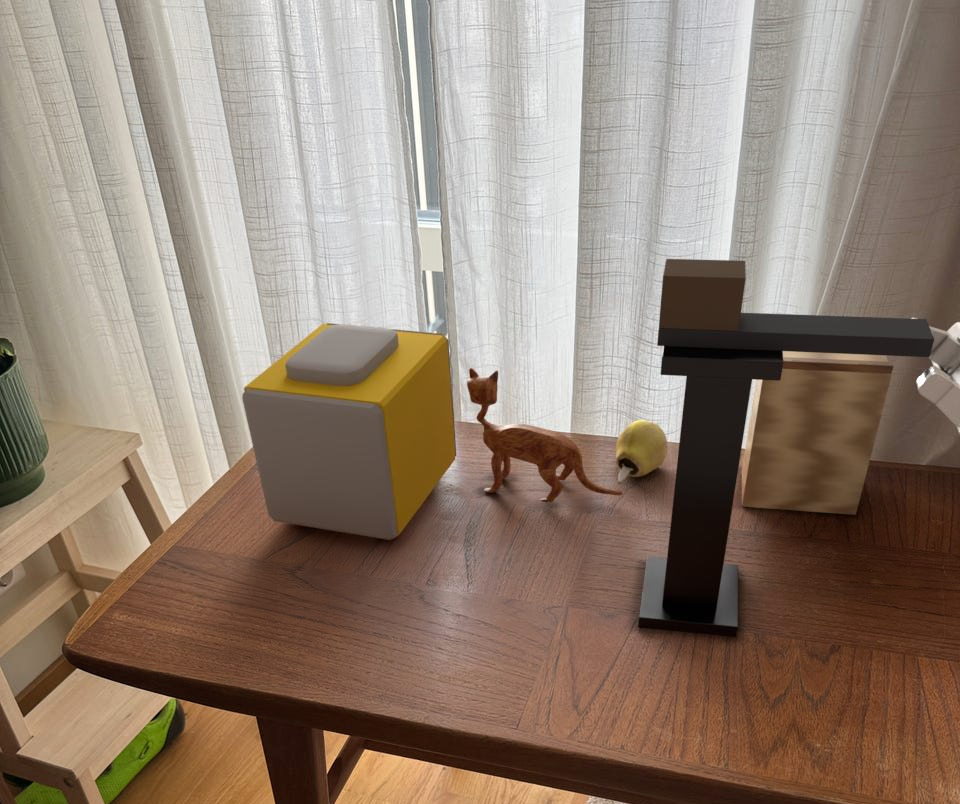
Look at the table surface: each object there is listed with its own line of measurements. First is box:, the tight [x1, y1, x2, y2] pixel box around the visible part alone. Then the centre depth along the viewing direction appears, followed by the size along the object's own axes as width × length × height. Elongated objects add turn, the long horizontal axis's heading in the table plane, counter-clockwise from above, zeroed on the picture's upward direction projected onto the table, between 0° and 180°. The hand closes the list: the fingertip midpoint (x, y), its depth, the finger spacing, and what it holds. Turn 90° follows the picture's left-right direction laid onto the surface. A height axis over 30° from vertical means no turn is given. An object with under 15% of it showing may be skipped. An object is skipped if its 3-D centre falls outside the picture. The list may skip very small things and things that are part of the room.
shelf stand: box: [637, 346, 784, 638], centre depth 81 cm, size 9×10×26 cm
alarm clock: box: [241, 322, 457, 541], centre depth 100 cm, size 20×16×18 cm
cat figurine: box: [466, 367, 624, 503], centre depth 101 cm, size 18×7×14 cm, turn 70°
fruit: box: [615, 419, 669, 485], centre depth 107 cm, size 6×6×10 cm
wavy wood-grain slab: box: [741, 351, 894, 516], centre depth 98 cm, size 12×8×17 cm, turn 78°
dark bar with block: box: [657, 258, 934, 358], centre depth 70 cm, size 20×4×5 cm, turn 78°
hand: (914, 351), depth 70 cm, fingers open, 8 cm apart
